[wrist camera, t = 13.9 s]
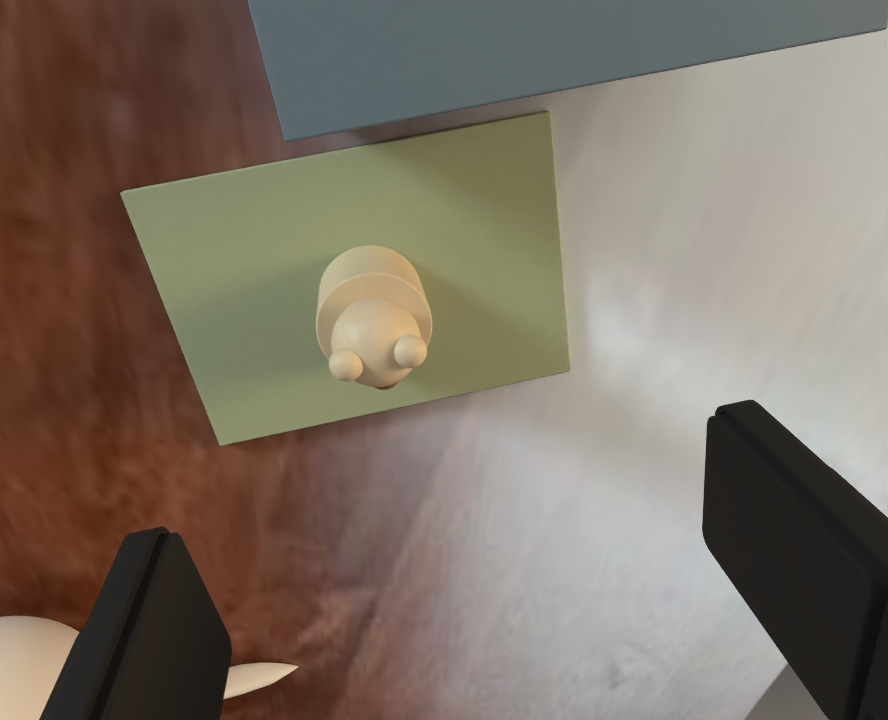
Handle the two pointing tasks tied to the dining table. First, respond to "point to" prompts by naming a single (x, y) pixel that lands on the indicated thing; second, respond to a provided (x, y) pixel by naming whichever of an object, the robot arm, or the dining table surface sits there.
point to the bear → (372, 317)
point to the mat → (348, 226)
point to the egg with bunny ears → (45, 651)
